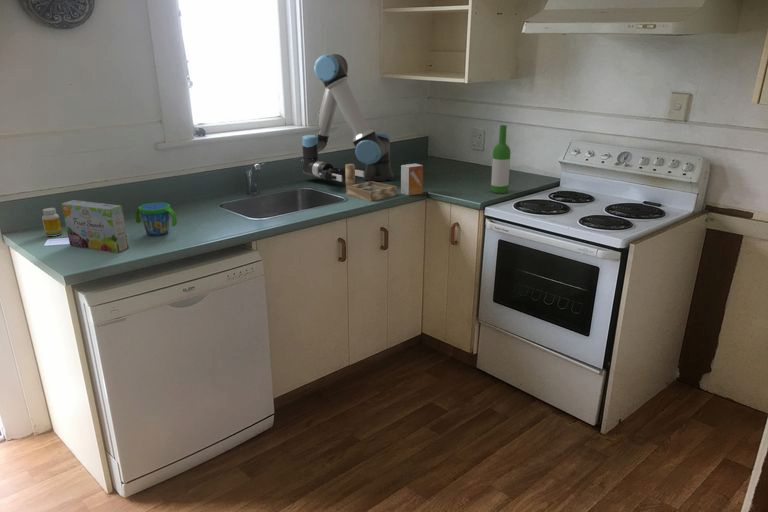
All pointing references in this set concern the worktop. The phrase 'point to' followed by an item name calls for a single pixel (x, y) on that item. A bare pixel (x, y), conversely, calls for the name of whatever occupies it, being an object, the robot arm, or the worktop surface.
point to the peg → (350, 174)
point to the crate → (371, 191)
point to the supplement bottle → (51, 222)
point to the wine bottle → (501, 164)
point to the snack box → (95, 225)
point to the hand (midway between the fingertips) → (352, 176)
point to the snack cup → (155, 217)
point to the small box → (411, 179)
